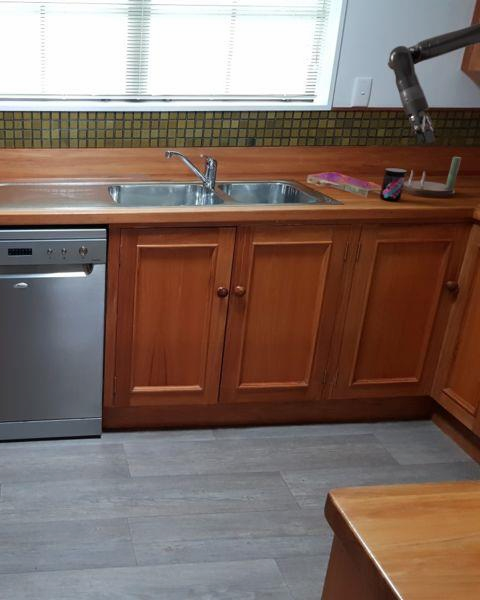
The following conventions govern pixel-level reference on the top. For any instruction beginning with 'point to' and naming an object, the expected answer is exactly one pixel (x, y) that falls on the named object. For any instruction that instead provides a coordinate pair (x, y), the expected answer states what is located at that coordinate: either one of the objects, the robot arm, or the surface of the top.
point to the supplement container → (392, 184)
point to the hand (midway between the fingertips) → (428, 142)
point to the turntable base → (428, 194)
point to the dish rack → (432, 186)
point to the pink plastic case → (344, 182)
